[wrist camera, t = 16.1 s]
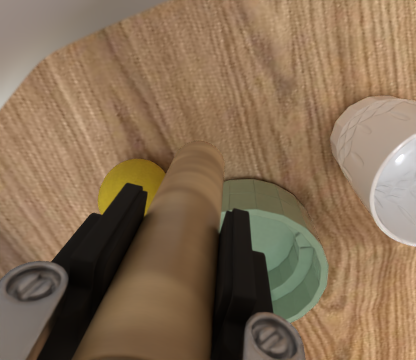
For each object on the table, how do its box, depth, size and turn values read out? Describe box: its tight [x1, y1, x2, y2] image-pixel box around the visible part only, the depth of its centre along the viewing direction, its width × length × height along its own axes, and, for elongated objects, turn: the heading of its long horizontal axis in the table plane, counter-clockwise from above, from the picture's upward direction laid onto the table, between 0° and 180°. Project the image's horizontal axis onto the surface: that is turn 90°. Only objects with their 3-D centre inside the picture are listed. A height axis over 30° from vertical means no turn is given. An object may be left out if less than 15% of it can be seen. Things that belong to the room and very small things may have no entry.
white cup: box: [330, 95, 416, 247], centre depth 21 cm, size 8×8×10 cm
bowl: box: [220, 179, 329, 323], centre depth 28 cm, size 13×13×6 cm
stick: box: [72, 141, 225, 360], centre depth 11 cm, size 3×3×12 cm
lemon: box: [98, 159, 166, 216], centre depth 25 cm, size 6×6×8 cm
